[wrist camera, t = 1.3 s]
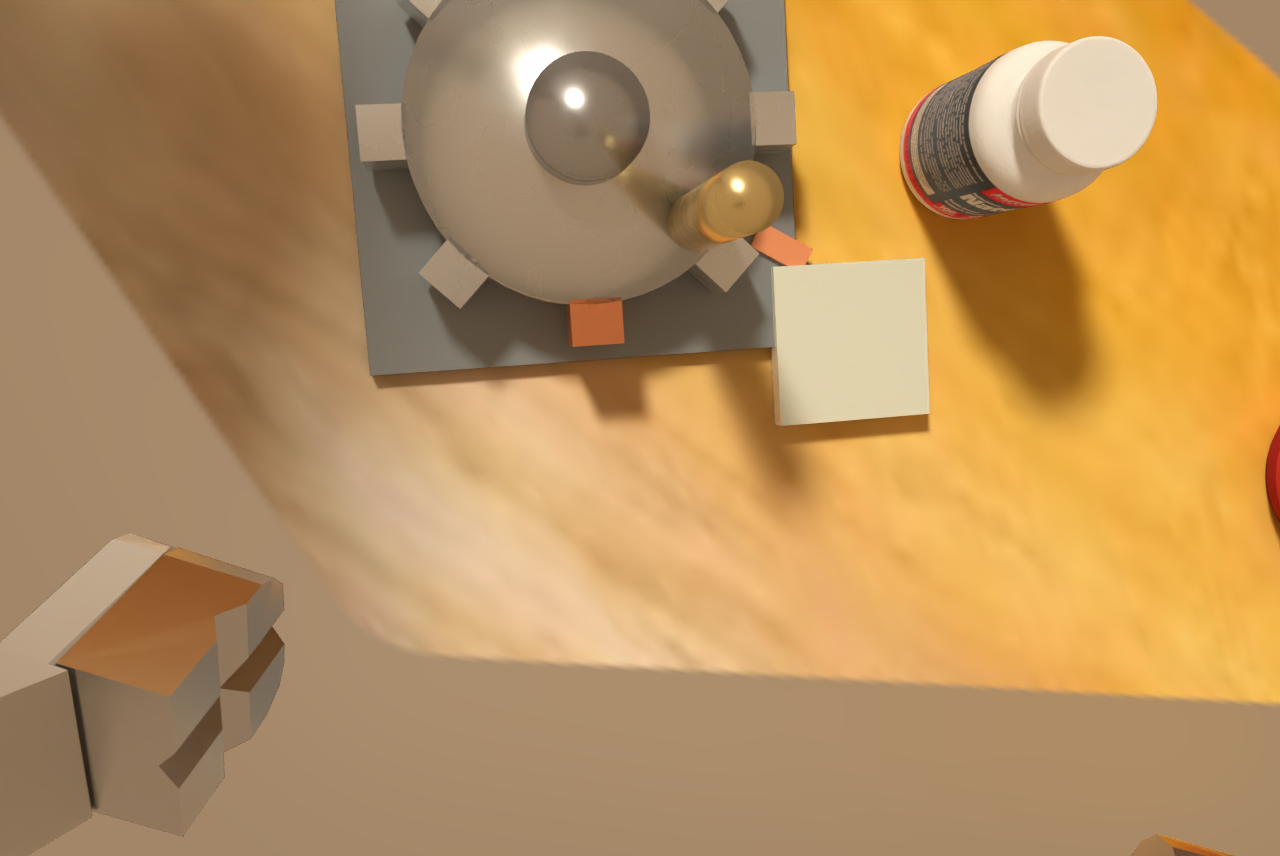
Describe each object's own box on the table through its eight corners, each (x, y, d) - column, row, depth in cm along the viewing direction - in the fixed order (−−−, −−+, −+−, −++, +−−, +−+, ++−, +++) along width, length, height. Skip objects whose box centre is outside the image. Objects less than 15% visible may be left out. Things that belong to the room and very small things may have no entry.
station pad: (767, 267, 39) (773, 267, 38) (915, 259, 39) (924, 257, 39) (774, 423, 39) (781, 426, 38) (920, 412, 40) (929, 413, 39)
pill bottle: (909, 233, 39) (1032, 207, 31) (884, 98, 39) (1002, 31, 30) (1033, 205, 40) (1188, 172, 31) (1011, 71, 39) (1163, -1, 31)
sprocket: (343, -81, 34) (296, -224, 25) (768, -83, 36) (861, -215, 27) (384, 358, 36) (353, 369, 27) (788, 330, 38) (882, 332, 29)
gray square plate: (328, -88, 35) (325, -96, 34) (791, -90, 37) (797, -98, 37) (371, 375, 37) (369, 376, 36) (811, 343, 39) (816, 344, 38)
